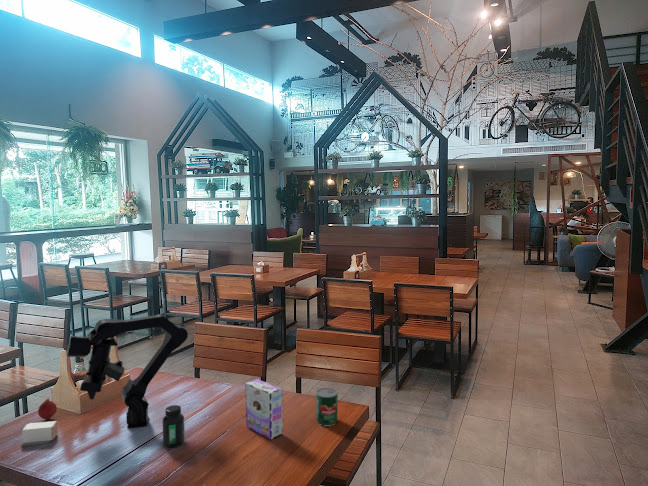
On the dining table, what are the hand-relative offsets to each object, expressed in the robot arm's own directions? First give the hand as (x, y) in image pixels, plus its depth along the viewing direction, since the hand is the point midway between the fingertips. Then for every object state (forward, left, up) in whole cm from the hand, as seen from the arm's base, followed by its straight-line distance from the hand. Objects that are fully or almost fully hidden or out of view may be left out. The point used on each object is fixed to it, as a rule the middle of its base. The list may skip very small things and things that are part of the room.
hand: (91, 398), depth 158 cm
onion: (+19, -13, -12) cm, 25 cm away
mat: (+16, +2, -12) cm, 20 cm away
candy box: (-58, +12, -12) cm, 61 cm away
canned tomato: (-81, +10, -12) cm, 83 cm away
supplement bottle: (-28, +14, -12) cm, 34 cm away
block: (+11, +2, -9) cm, 15 cm away
